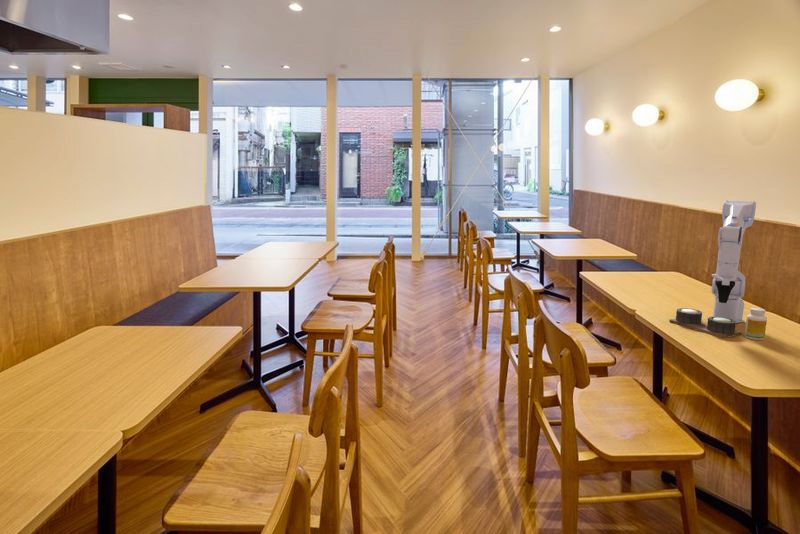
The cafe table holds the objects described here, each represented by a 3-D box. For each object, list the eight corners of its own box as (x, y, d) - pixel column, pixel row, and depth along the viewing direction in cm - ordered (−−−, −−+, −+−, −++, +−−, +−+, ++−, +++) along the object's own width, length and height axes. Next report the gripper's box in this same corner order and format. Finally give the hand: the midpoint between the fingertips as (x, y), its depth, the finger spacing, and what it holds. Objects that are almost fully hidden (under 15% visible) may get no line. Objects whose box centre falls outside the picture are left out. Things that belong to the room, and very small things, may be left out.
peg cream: (686, 317, 186) (687, 308, 185) (699, 321, 181) (700, 311, 180) (677, 319, 184) (678, 309, 183) (689, 323, 179) (690, 313, 178)
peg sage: (718, 326, 175) (719, 316, 174) (732, 330, 170) (734, 320, 170) (708, 328, 173) (709, 318, 172) (722, 332, 168) (724, 322, 168)
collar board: (686, 319, 188) (688, 307, 187) (741, 334, 170) (742, 321, 169) (669, 321, 184) (670, 309, 184) (722, 337, 166) (724, 324, 165)
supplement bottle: (767, 340, 163) (771, 311, 161) (748, 339, 164) (752, 310, 163) (759, 335, 168) (763, 307, 167) (741, 334, 169) (744, 306, 168)
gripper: (713, 258, 176) (709, 296, 178) (713, 264, 164) (708, 305, 166) (737, 260, 172) (733, 299, 175) (739, 266, 160) (734, 308, 163)
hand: (722, 302), depth 170 cm, fingers closed
